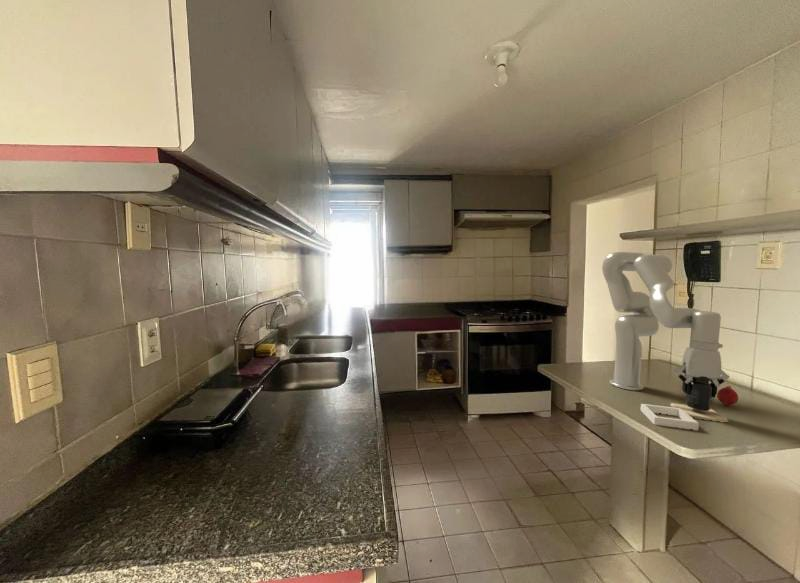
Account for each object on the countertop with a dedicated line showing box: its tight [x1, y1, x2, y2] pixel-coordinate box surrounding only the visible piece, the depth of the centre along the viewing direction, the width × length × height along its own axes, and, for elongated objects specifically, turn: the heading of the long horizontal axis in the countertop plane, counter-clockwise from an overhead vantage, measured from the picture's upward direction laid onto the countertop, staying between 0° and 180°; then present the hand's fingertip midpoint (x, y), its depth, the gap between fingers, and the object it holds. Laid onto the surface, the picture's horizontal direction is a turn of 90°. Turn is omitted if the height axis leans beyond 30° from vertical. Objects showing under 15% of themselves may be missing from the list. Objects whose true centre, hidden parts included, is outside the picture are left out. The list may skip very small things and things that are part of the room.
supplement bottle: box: [685, 376, 713, 411], centre depth 121 cm, size 7×7×12 cm
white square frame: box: [640, 403, 700, 431], centre depth 116 cm, size 12×12×2 cm
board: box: [670, 402, 729, 423], centre depth 122 cm, size 11×12×1 cm
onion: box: [716, 385, 739, 407], centre depth 129 cm, size 6×6×8 cm
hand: (698, 394), depth 121 cm, fingers closed on supplement bottle, 6 cm apart
